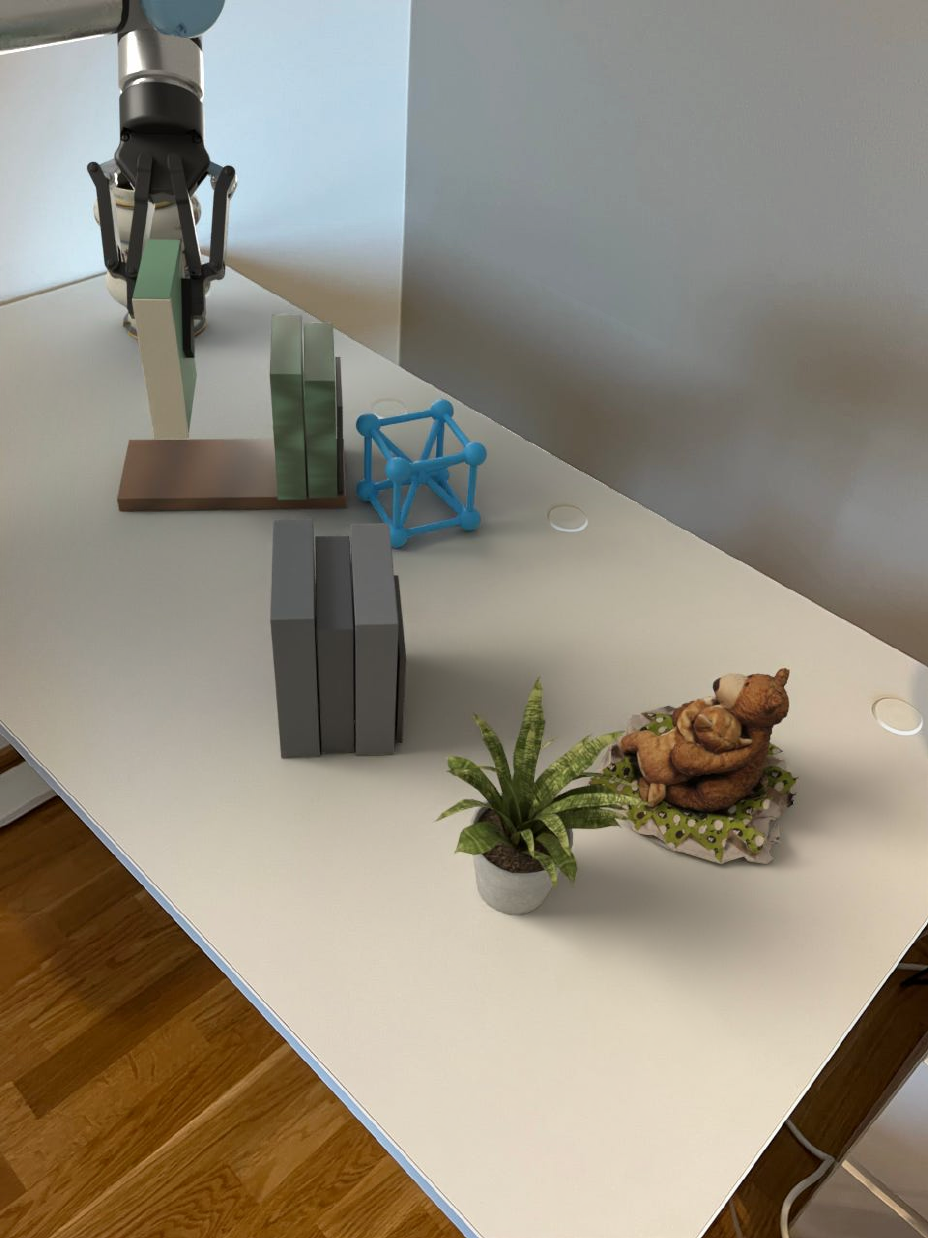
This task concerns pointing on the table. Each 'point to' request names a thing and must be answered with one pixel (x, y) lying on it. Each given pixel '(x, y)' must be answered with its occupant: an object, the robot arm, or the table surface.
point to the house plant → (531, 812)
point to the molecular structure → (419, 471)
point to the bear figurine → (708, 770)
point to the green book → (164, 339)
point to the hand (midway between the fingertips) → (167, 353)
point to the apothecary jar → (161, 229)
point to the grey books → (336, 640)
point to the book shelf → (257, 442)
